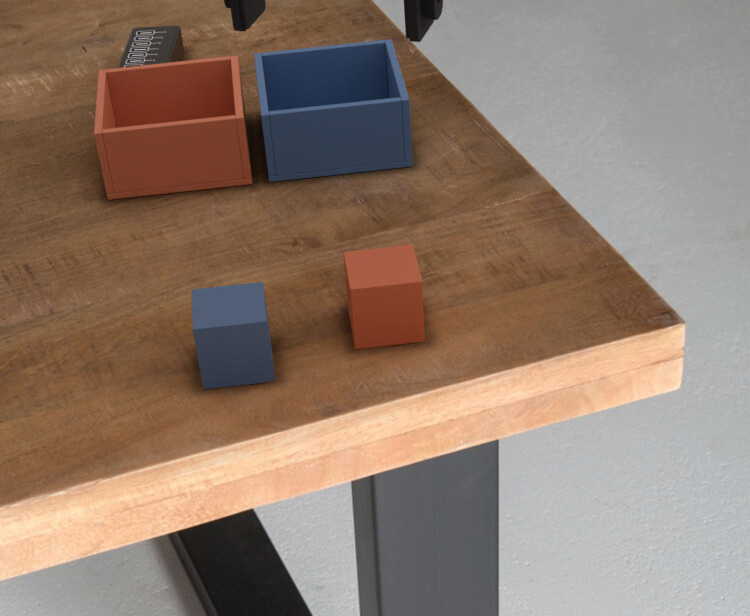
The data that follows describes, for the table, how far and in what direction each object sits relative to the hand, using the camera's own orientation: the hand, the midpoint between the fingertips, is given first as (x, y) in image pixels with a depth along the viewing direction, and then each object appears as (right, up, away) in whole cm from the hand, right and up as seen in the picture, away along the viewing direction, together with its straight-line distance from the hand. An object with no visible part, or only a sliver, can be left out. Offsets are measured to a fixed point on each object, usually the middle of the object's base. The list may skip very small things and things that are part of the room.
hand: (334, 26), depth 75 cm
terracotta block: (+3, -13, +19) cm, 23 cm away
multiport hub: (-18, +13, +48) cm, 53 cm away
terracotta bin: (-14, +4, +38) cm, 40 cm away
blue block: (-7, -16, +16) cm, 24 cm away
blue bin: (-1, +5, +38) cm, 39 cm away
